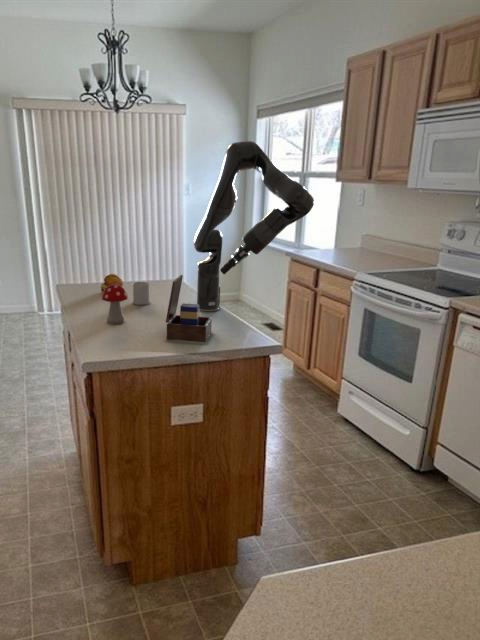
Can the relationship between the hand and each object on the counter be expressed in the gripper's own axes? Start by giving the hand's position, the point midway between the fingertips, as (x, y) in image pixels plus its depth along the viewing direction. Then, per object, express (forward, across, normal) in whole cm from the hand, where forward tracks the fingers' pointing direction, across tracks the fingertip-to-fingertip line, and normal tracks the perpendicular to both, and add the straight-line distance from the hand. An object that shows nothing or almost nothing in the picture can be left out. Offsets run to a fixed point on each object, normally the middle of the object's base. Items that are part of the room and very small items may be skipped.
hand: (223, 270), depth 180 cm
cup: (+48, -47, -13) cm, 69 cm away
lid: (+19, 0, -4) cm, 20 cm away
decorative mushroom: (+48, -13, -13) cm, 52 cm away
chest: (+26, 0, +9) cm, 27 cm away
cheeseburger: (+62, -62, -27) cm, 92 cm away
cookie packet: (+25, 0, +9) cm, 26 cm away
